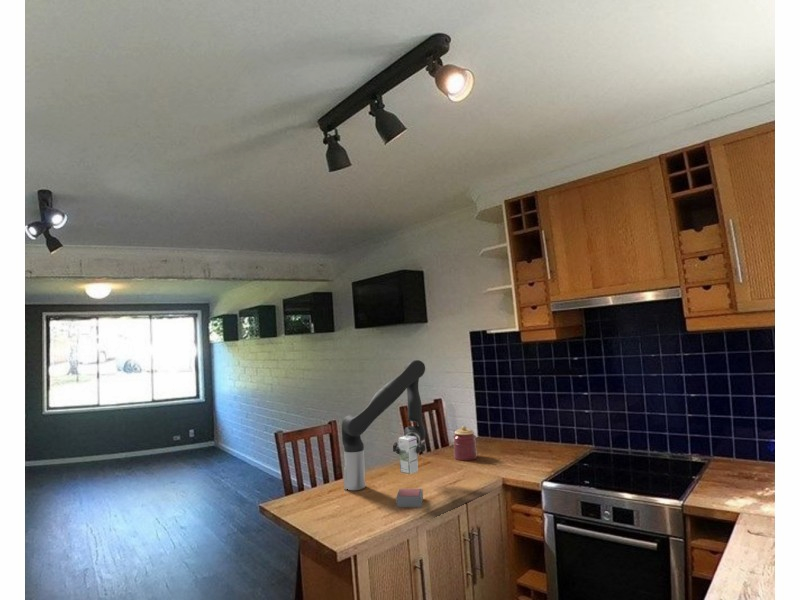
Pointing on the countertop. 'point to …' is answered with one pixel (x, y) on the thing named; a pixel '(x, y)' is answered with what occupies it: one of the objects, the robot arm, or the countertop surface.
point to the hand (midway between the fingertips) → (407, 451)
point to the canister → (464, 444)
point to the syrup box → (408, 454)
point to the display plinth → (409, 498)
